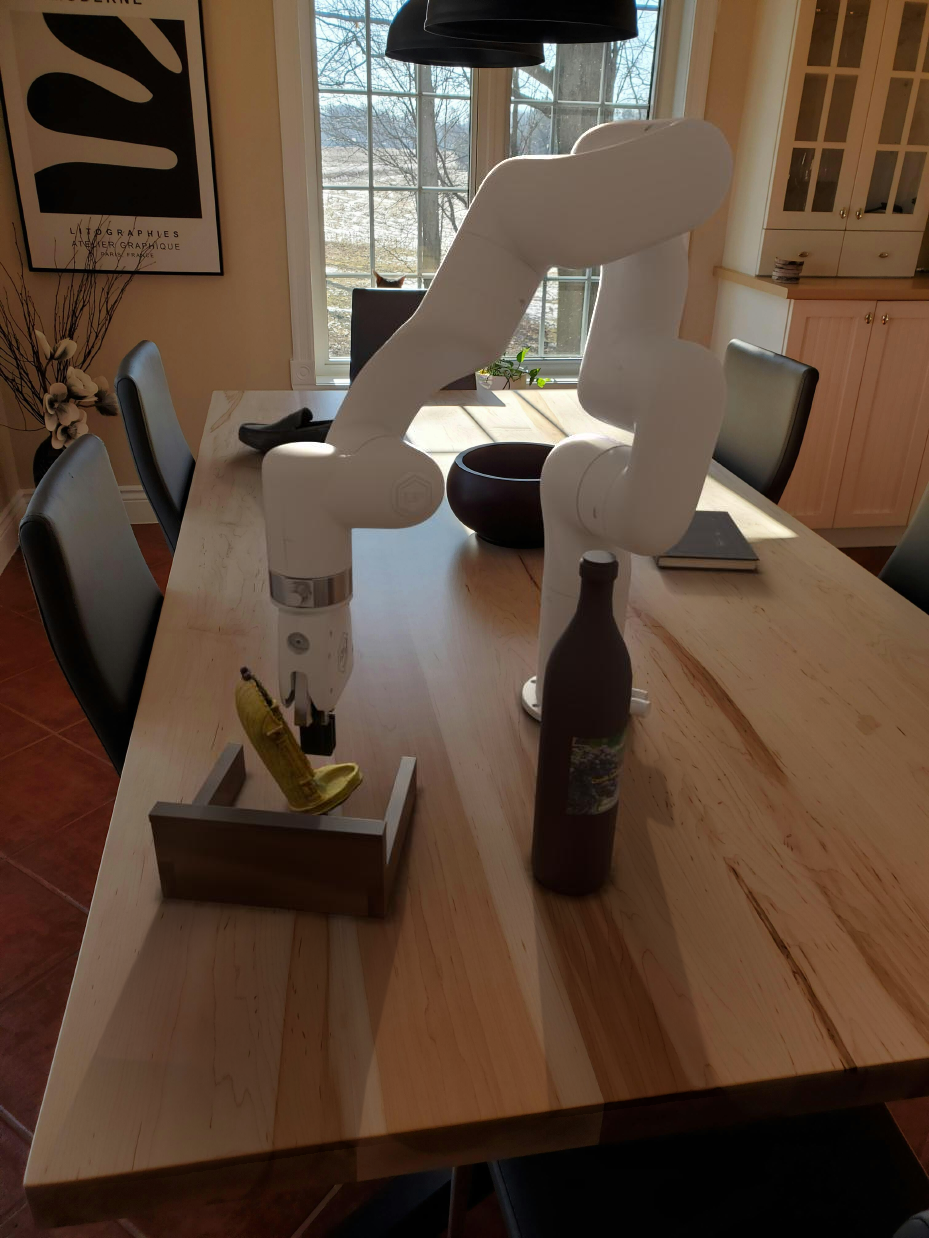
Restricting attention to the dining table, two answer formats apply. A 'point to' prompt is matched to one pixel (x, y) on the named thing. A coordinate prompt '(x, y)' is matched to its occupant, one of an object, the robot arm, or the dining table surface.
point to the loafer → (285, 431)
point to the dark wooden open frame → (279, 848)
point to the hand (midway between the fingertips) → (318, 750)
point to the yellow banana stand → (290, 753)
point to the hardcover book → (710, 546)
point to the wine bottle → (582, 739)
